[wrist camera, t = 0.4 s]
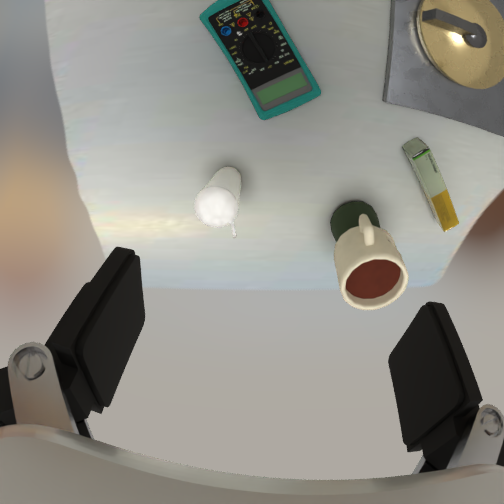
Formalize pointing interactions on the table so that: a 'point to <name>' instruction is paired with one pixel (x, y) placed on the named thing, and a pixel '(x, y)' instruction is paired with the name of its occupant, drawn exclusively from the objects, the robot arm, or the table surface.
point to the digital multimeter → (261, 55)
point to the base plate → (435, 77)
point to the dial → (463, 40)
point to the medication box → (431, 183)
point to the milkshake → (220, 199)
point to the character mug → (366, 258)
